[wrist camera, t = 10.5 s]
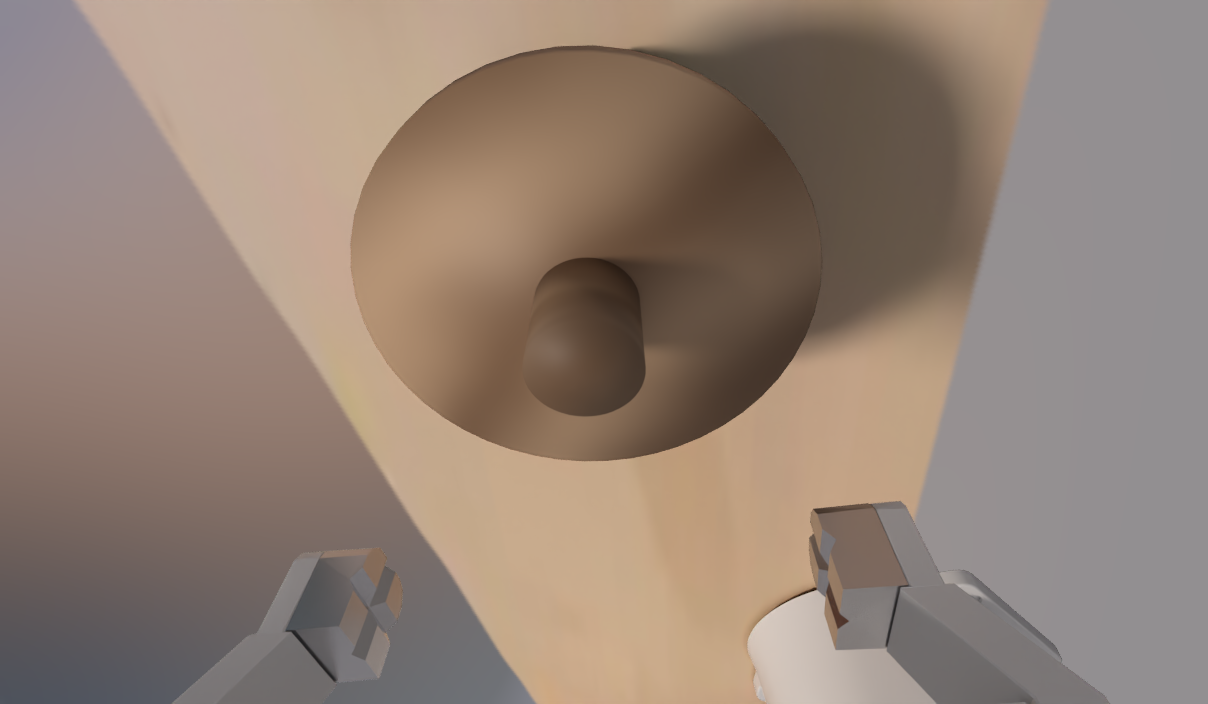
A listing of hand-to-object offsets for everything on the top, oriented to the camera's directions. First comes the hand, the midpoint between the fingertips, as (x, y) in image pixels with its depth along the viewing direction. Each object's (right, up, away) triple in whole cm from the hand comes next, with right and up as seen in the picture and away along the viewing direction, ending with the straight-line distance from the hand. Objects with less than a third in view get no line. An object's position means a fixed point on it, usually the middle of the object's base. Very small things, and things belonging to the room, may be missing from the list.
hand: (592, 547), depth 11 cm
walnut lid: (0, +5, +6) cm, 8 cm away
